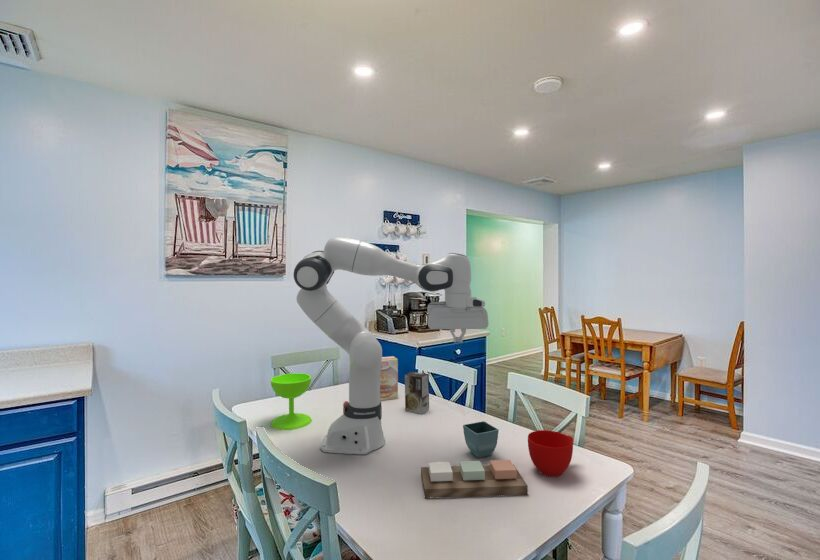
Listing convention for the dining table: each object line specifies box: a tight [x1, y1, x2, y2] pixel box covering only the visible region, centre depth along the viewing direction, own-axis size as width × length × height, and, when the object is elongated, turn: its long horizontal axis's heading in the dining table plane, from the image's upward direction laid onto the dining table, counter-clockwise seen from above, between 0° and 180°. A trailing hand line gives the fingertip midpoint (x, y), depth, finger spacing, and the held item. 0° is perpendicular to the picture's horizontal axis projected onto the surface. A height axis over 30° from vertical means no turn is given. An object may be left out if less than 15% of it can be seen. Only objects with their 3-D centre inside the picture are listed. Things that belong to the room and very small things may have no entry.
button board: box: [420, 463, 529, 499], centre depth 112 cm, size 28×12×2 cm, turn 93°
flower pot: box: [462, 420, 500, 458], centre depth 132 cm, size 9×9×9 cm
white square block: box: [428, 461, 453, 482], centre depth 112 cm, size 6×6×5 cm
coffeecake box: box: [380, 355, 399, 402], centre depth 191 cm, size 15×7×20 cm, turn 111°
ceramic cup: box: [527, 429, 574, 478], centre depth 121 cm, size 13×17×10 cm
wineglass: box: [270, 372, 313, 431], centre depth 161 cm, size 16×16×18 cm
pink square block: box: [489, 459, 518, 480], centre depth 113 cm, size 6×6×5 cm
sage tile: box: [458, 460, 485, 481], centre depth 112 cm, size 6×6×5 cm
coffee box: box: [404, 371, 430, 415], centre depth 173 cm, size 9×6×16 cm
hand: (458, 342), depth 133 cm, fingers closed
